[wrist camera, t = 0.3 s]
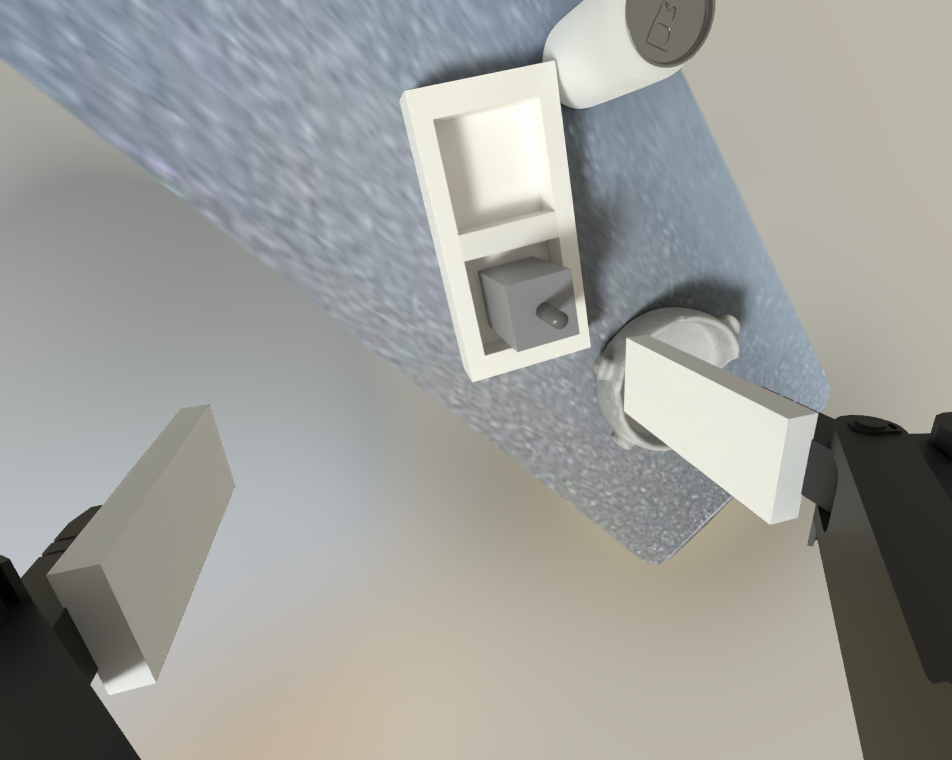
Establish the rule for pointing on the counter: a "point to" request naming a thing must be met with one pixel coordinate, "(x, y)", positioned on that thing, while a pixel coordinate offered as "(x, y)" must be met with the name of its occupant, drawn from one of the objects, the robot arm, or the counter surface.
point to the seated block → (529, 302)
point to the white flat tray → (495, 197)
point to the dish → (671, 327)
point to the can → (623, 46)
